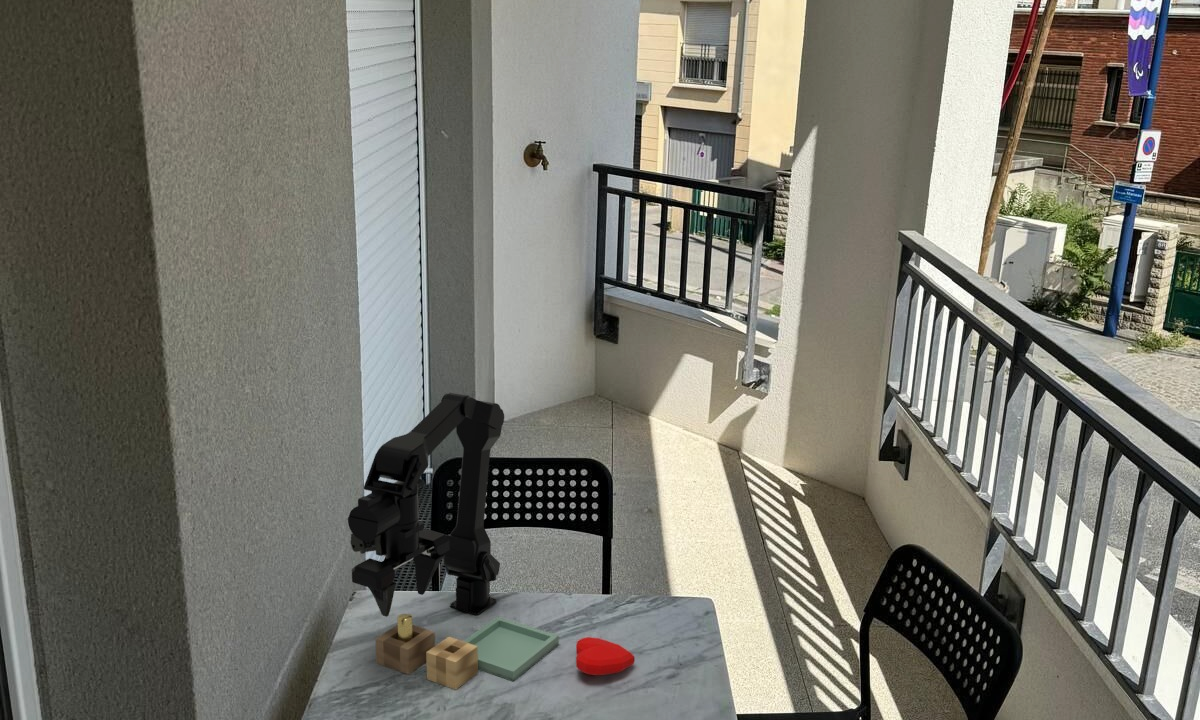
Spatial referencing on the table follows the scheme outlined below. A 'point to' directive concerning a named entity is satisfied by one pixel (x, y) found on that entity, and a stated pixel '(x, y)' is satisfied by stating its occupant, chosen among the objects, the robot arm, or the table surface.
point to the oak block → (452, 662)
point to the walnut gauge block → (404, 649)
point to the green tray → (510, 647)
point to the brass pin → (405, 627)
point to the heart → (601, 656)
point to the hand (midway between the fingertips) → (403, 604)
